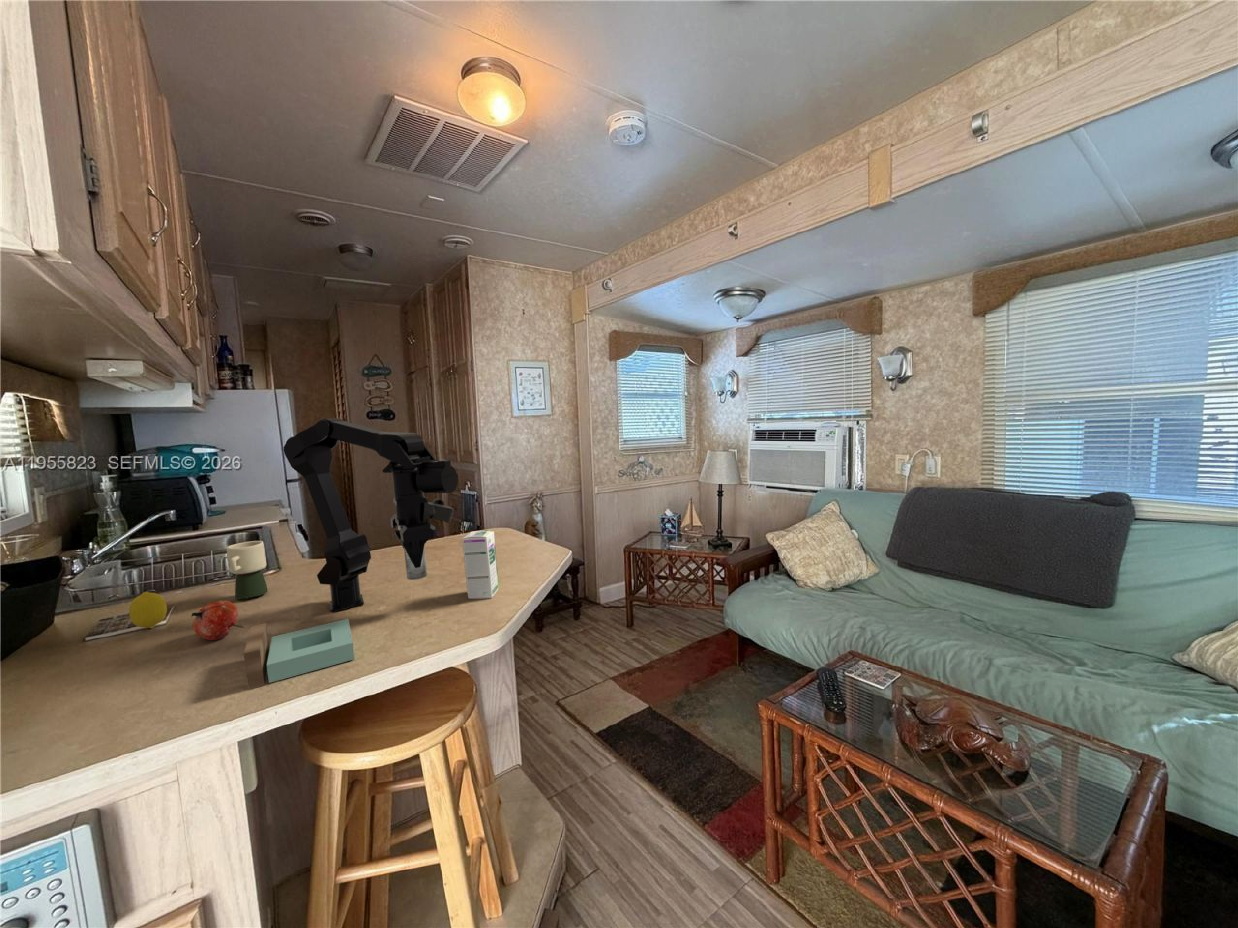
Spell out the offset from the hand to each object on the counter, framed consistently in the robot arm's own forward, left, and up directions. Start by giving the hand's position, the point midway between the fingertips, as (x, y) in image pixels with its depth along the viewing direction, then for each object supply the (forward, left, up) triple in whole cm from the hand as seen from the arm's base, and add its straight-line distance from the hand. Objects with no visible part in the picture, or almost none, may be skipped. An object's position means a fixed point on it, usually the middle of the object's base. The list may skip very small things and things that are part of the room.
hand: (415, 564), depth 101 cm
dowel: (0, 0, -3) cm, 3 cm away
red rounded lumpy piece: (-12, -35, -10) cm, 39 cm away
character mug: (-35, -32, -10) cm, 49 cm away
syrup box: (0, +14, -10) cm, 17 cm away
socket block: (+10, -20, -10) cm, 24 cm away
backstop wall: (+10, -27, -10) cm, 31 cm away
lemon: (-26, -48, -10) cm, 56 cm away
